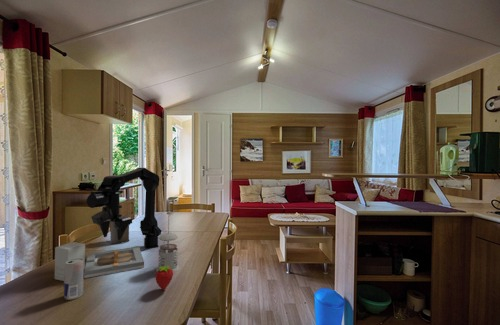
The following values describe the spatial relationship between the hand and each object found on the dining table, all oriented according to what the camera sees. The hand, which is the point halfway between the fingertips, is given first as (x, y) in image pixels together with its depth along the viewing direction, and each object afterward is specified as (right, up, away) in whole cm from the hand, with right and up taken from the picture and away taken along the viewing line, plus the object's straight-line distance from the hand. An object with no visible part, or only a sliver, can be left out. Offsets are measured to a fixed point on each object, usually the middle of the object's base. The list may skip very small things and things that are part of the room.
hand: (112, 238), depth 113 cm
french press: (+26, -12, -3) cm, 29 cm away
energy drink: (+2, -12, -27) cm, 30 cm away
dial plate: (+1, -12, +1) cm, 12 cm away
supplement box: (-10, -12, -13) cm, 20 cm away
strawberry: (+31, -12, -22) cm, 40 cm away
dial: (+1, -10, +1) cm, 10 cm away
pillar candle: (-13, -12, +32) cm, 37 cm away
